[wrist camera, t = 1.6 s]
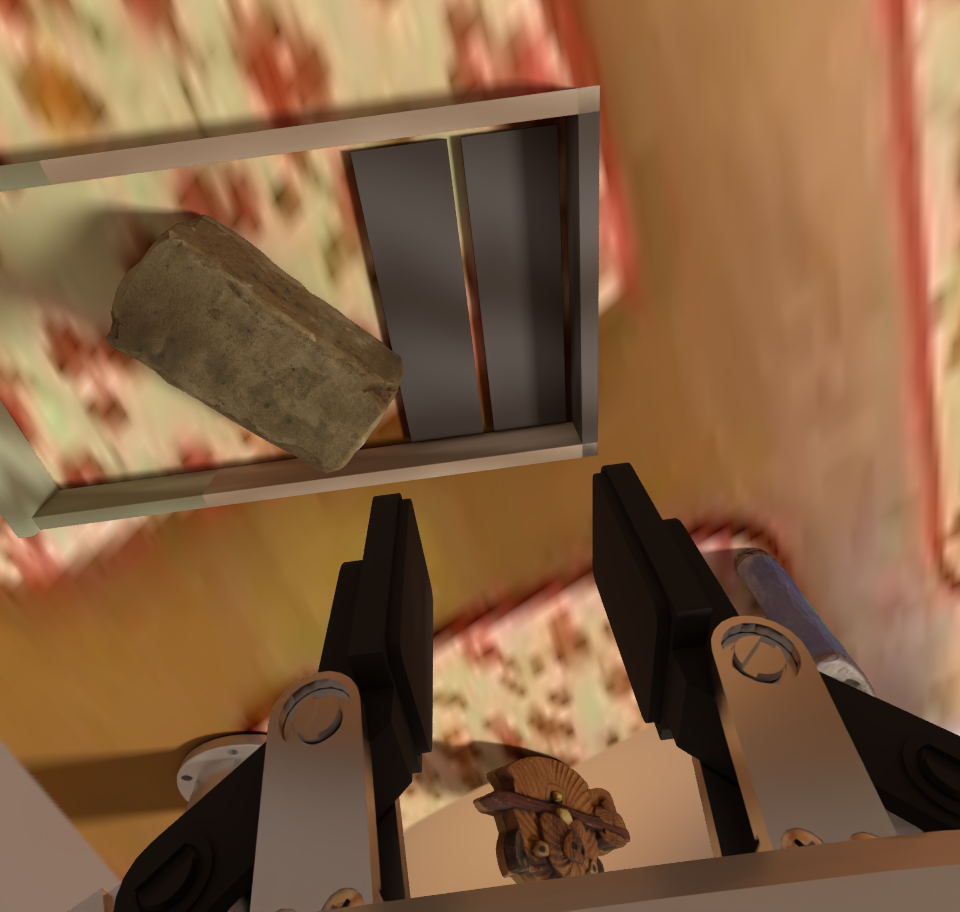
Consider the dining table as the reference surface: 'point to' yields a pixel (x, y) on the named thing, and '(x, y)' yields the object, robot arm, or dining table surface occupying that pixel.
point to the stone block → (254, 343)
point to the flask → (798, 617)
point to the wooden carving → (550, 821)
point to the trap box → (404, 302)
